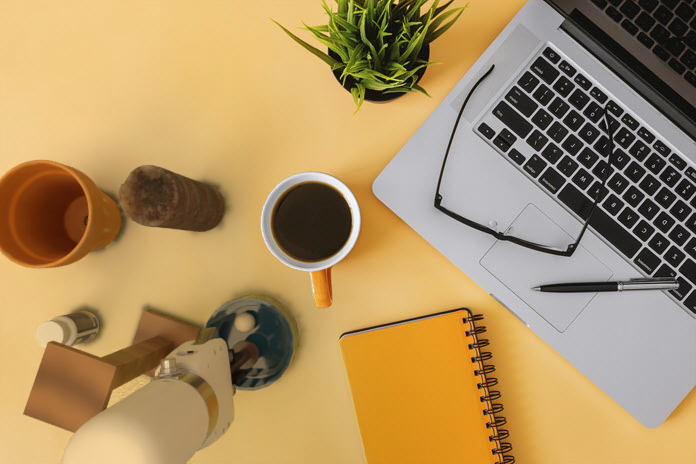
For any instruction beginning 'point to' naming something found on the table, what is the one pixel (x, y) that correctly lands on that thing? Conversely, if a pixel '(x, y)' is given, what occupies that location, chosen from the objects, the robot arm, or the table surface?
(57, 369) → the stand
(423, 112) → the table surface
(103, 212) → the flower pot
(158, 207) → the brown textured cylinder
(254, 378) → the bowl
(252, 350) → the stick
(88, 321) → the pill bottle
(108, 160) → the table surface
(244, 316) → the ball
